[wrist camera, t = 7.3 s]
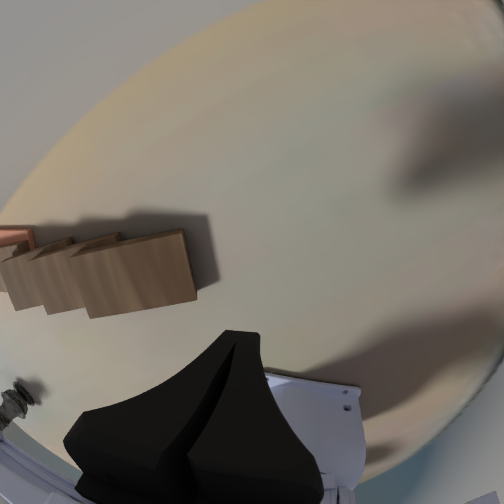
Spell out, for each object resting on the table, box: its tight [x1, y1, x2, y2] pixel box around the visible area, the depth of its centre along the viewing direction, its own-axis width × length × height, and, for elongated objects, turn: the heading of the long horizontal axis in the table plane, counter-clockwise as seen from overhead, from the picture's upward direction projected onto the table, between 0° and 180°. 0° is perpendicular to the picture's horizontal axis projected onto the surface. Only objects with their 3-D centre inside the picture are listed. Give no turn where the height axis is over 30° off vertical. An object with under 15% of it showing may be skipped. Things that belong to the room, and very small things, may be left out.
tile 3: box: [0, 237, 74, 311], centre depth 21 cm, size 2×5×8 cm
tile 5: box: [0, 229, 35, 250], centre depth 24 cm, size 2×5×8 cm
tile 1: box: [69, 228, 197, 319], centre depth 20 cm, size 2×5×8 cm
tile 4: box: [0, 240, 30, 292], centre depth 23 cm, size 2×5×8 cm
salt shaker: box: [0, 382, 35, 432], centre depth 29 cm, size 6×6×12 cm
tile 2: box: [28, 232, 122, 315], centre depth 21 cm, size 2×5×8 cm
